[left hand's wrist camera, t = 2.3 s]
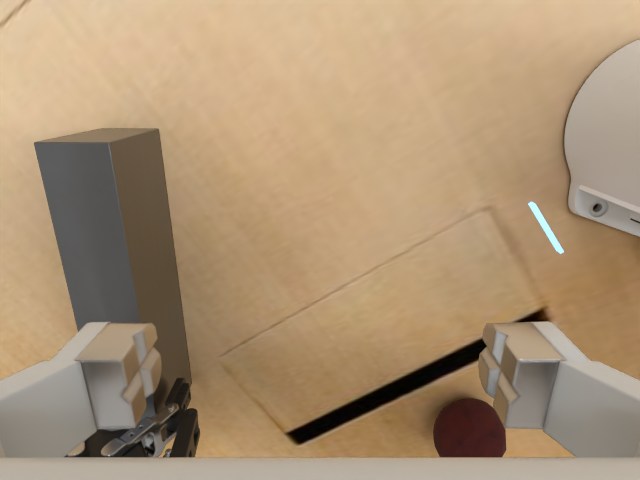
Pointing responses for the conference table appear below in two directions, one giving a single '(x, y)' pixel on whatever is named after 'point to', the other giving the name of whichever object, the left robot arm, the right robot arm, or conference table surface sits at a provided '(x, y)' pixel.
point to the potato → (469, 430)
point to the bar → (118, 238)
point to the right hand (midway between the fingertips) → (145, 385)
